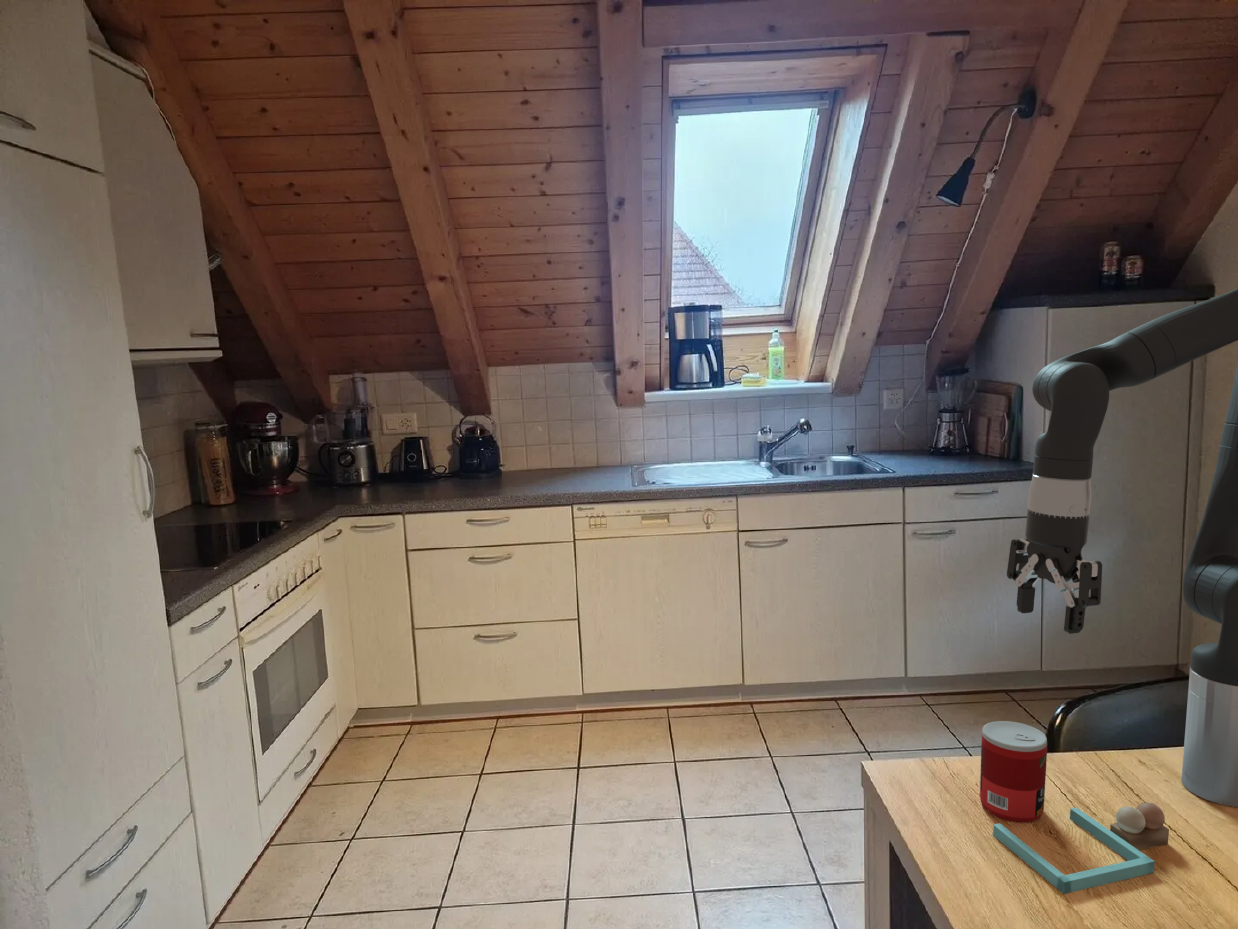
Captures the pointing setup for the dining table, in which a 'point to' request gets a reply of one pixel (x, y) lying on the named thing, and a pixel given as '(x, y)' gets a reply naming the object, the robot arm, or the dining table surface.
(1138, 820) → the egg holder with eggs
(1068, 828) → the dining table surface
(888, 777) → the dining table surface
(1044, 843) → the dining table surface
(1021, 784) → the canned food
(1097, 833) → the teal bay
